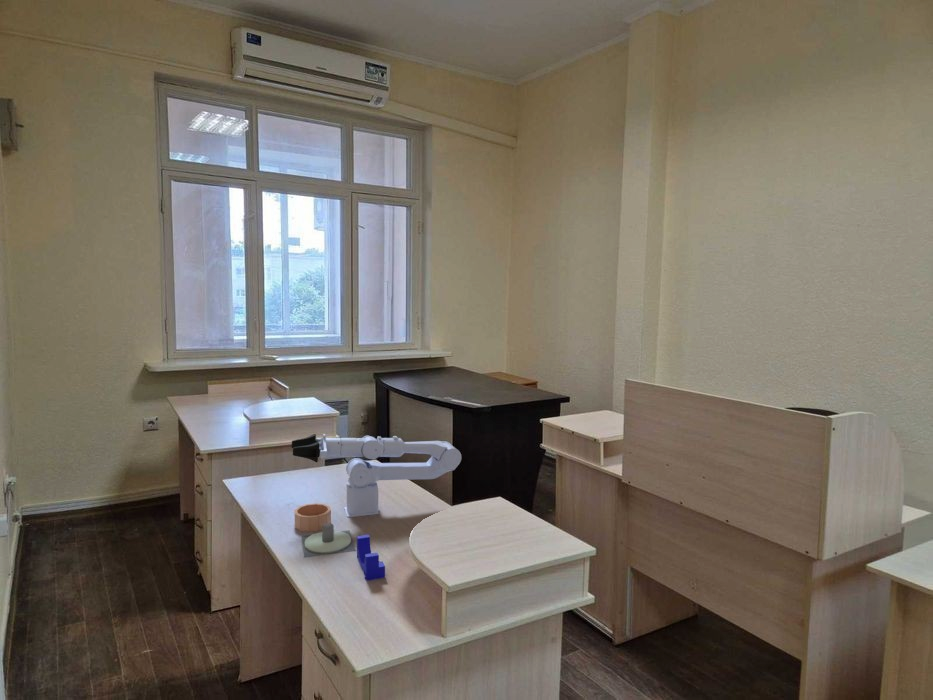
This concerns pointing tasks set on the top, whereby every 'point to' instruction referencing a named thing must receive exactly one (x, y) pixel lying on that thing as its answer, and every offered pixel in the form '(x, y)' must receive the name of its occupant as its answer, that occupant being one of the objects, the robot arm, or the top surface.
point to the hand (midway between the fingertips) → (292, 447)
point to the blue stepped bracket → (369, 559)
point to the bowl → (312, 517)
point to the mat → (309, 553)
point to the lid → (327, 540)
